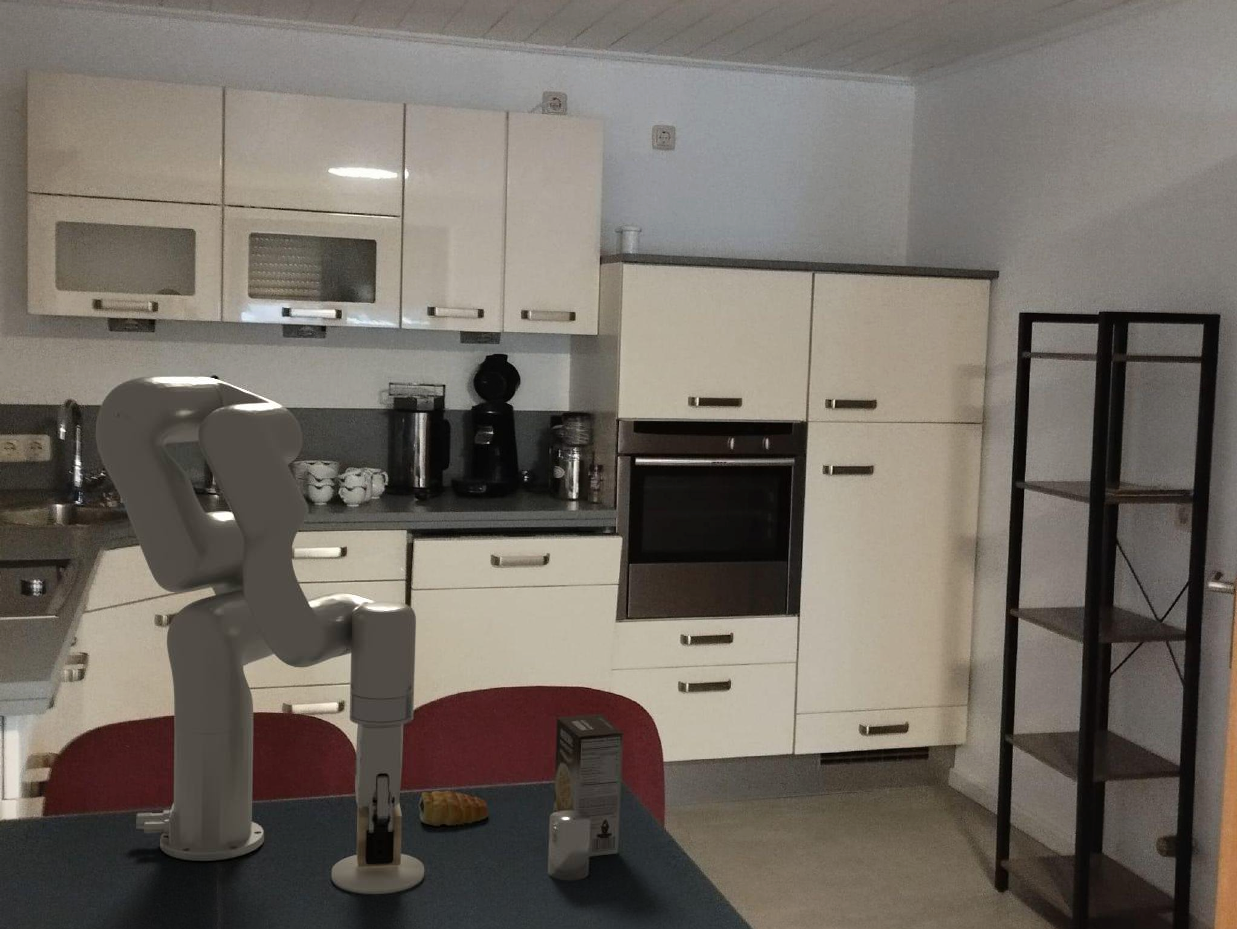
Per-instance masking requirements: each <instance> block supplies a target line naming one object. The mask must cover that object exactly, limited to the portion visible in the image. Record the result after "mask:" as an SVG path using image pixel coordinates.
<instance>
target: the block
mask: <svg viewBox="0 0 1237 929" xmlns="http://www.w3.org/2000/svg"><path fill="white" fill-rule="evenodd" d="M388 804H389V802H388ZM372 805H377V803H373V804H372ZM376 814H377V810H375V811H374V816H375V815H376ZM356 815H357V817H356V849H355V850H356V851H355V852H356V855H357V863H358V867H368V866H389V865H401V854H402V824H403V822H402V821H403V814H402V810H401V805H400V803H399V804H398V805H397V806H396V807H393V829H394V849H393V862H392V863H390V864H367V863H366V830H369V806H363V809H361V808H359V807H358V806H357V814H356Z"/></svg>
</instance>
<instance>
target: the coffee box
mask: <svg viewBox="0 0 1237 929" xmlns="http://www.w3.org/2000/svg"><path fill="white" fill-rule="evenodd" d="M555 739H556V740H555V741H556V742H555V761H554V762H555V764H554V767H555V768H554V770H555V771H554V791H553V792H554V795H553V800H554V801H553V813H554V812H558V811H563V810H574V811H580V812H584V813H586V814H588V815H589V816H590V844H589V858H591V857H597V856H598V857H599V856H607V855H616V854H618V853H619V836H620V835H619V830H620V812H621V811H620V810H621V809H620V808H621V791H622V790H621V789H622V788H621V785H622V768H623V766H622V765H623V764H622V763H623V750H624V749H623V744H624V733H623V731H621V729H619V728H618V727H616V726H615V725H614V724H613V723H612V722H611V721H610V720H608V719H607V718H606V717H605V716H604V715H603V714H601V713H593V714H583V715H579V714H578V715H569V716H559V717H557V718H556V738H555Z"/></svg>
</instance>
